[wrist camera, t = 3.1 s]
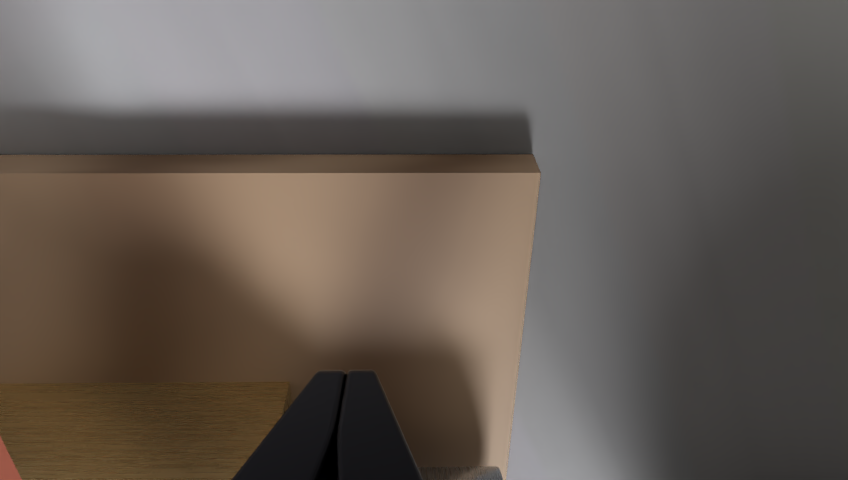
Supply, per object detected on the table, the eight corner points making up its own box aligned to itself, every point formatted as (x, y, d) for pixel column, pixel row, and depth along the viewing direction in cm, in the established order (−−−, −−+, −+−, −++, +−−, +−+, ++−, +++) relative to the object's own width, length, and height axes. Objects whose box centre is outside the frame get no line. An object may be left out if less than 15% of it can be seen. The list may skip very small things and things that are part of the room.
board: (532, 154, 14) (540, 172, 13) (488, 581, 23) (491, 608, 22) (-363, 155, 14) (-415, 173, 13) (-61, 588, 23) (-80, 616, 22)
